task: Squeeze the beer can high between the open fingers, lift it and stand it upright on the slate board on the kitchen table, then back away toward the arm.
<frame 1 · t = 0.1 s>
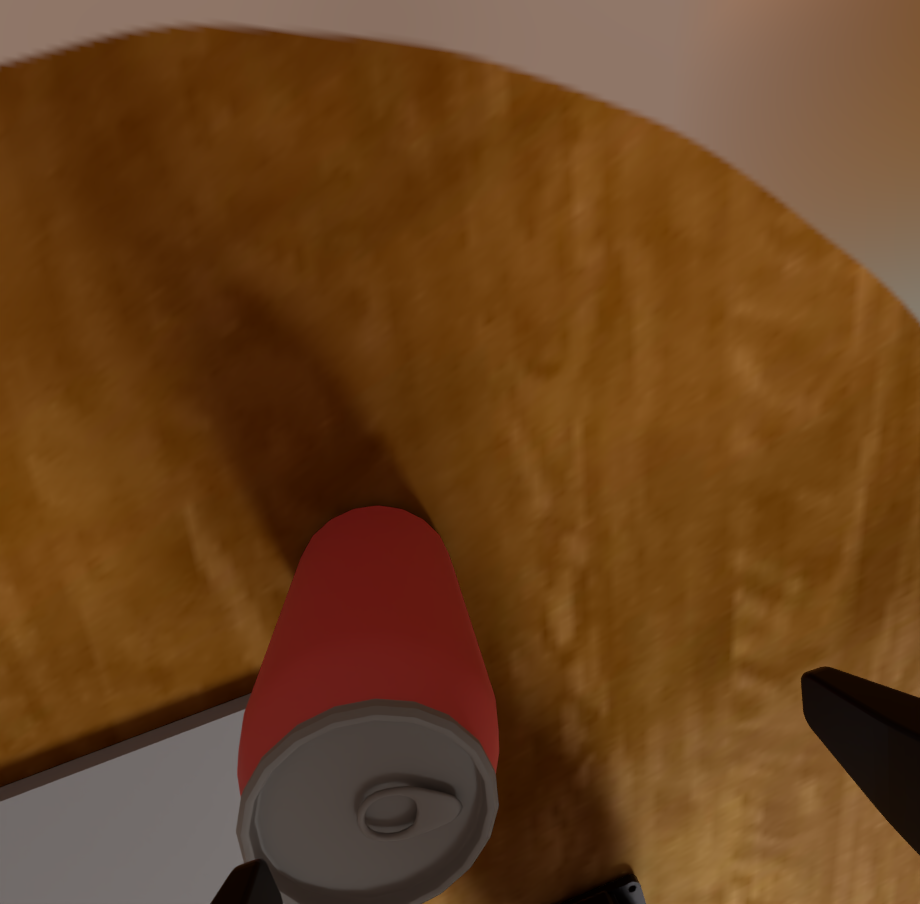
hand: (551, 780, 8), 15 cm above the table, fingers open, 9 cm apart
slate board: (185, 884, 24), on the table
beer can: (376, 569, 22), on the table
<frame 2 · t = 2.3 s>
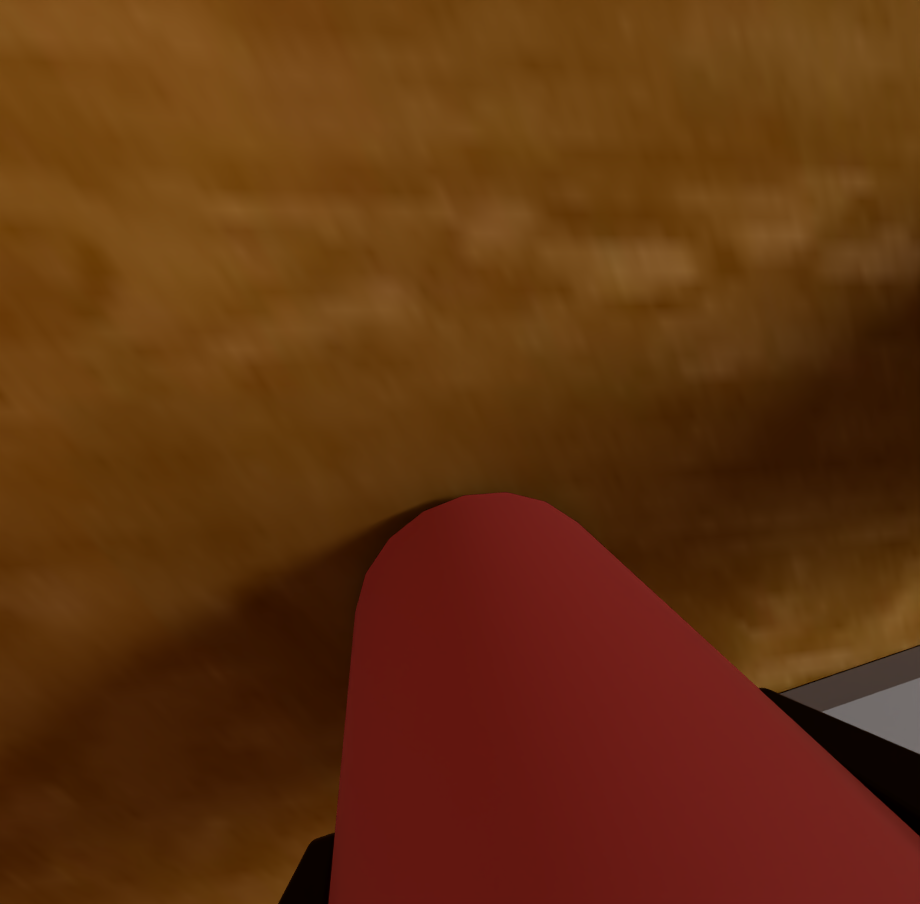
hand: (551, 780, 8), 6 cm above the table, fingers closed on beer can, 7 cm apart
slate board: (889, 845, 18), on the table
beer can: (481, 599, 13), on the table, touching gripper
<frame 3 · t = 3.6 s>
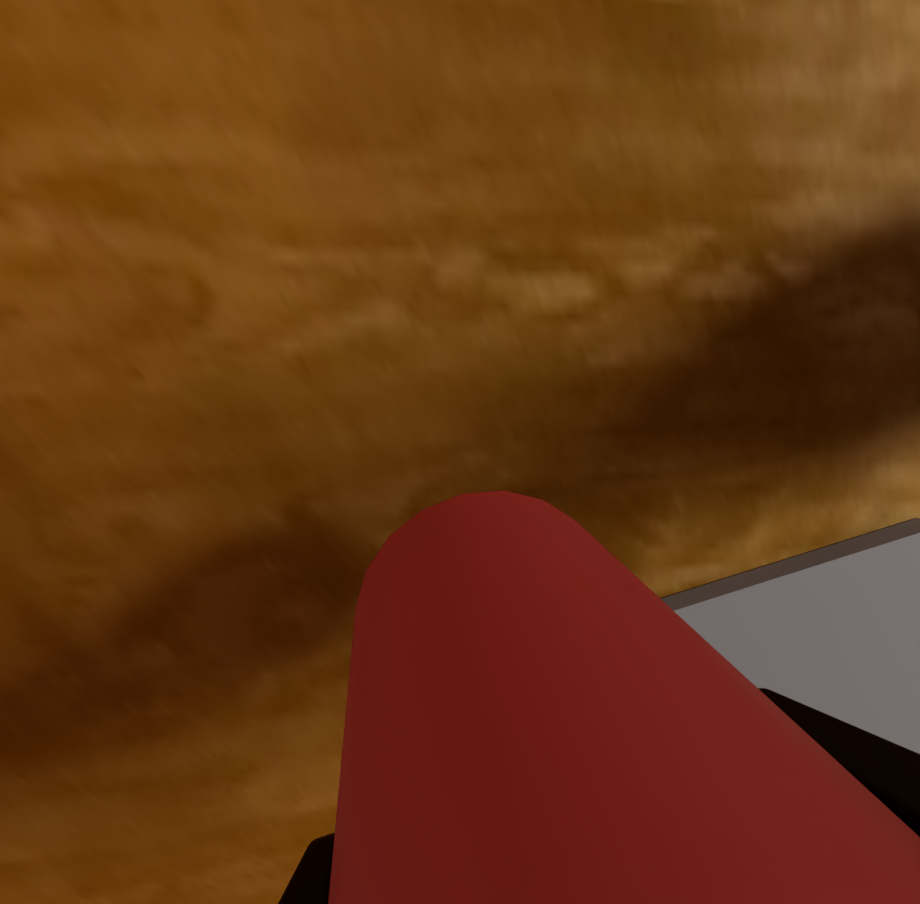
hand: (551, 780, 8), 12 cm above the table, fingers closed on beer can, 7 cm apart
slate board: (762, 719, 24), on the table
beer can: (479, 597, 14), point 6 cm above the table, touching gripper
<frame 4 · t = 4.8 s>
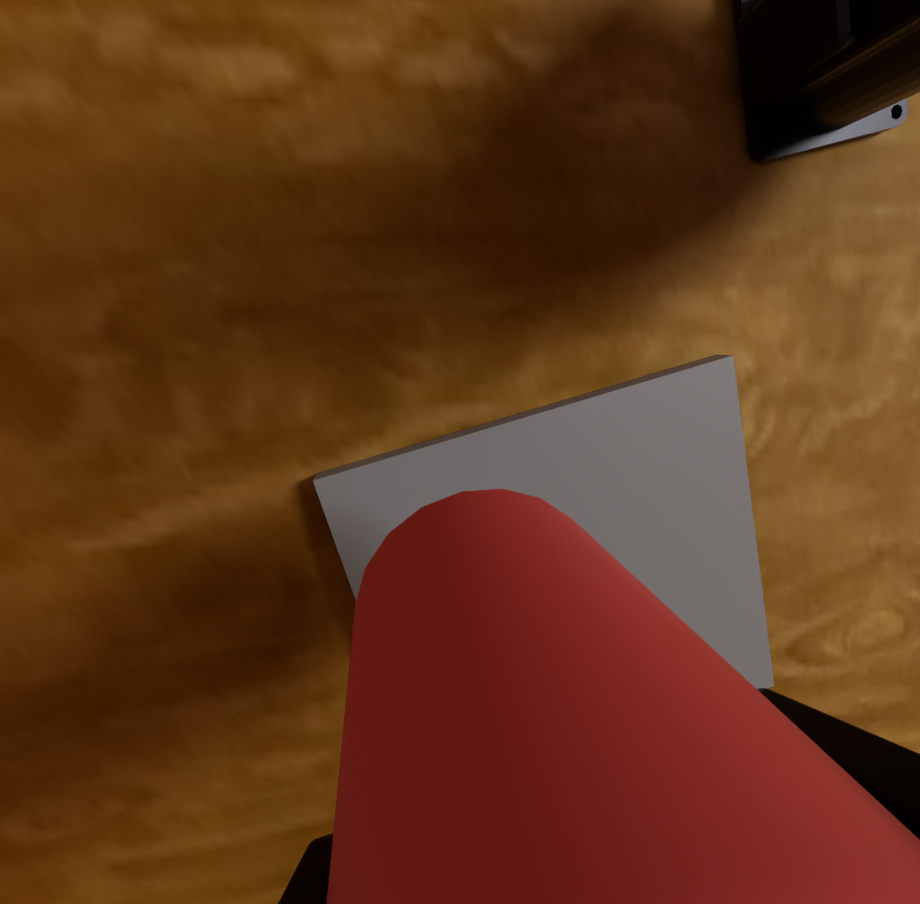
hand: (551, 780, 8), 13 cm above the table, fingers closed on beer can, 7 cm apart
slate board: (565, 585, 22), on the table
beer can: (477, 593, 14), point 7 cm above the table, touching gripper
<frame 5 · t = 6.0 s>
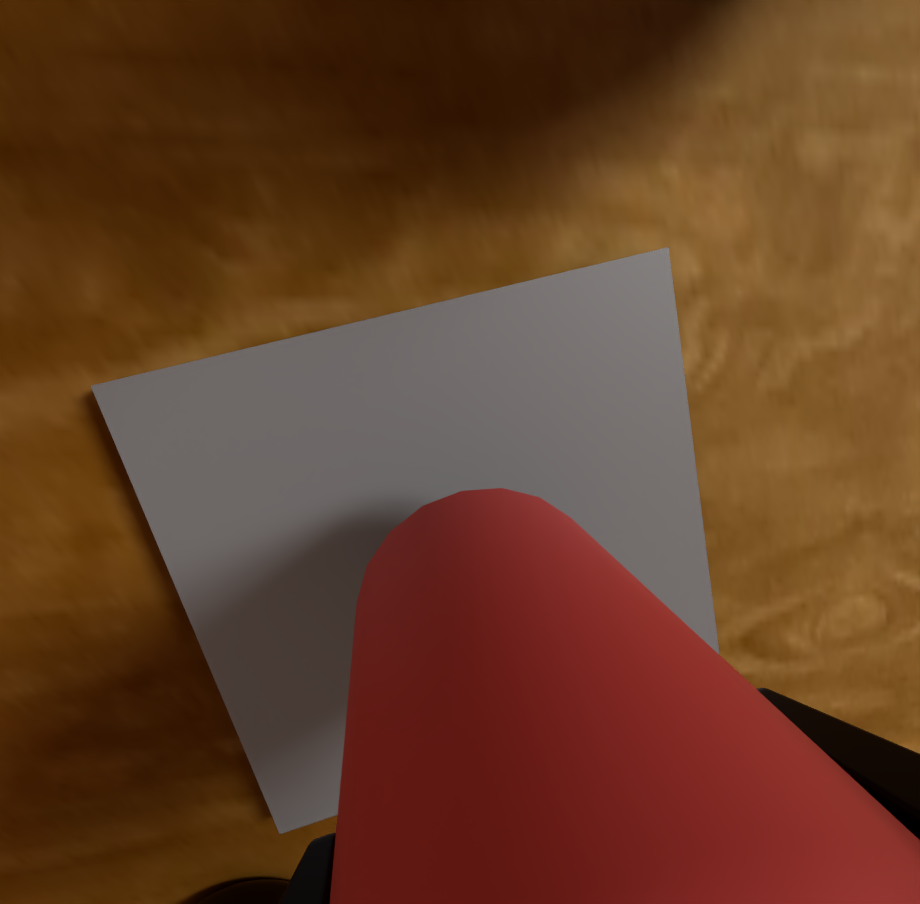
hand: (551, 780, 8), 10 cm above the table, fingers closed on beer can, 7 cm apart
slate board: (456, 548, 17), on the table
beer can: (477, 592, 14), point 3 cm above the table, touching gripper
when the fingers open (7 cm above the table, at t = 7.3 s): beer can stays where it is, resting on slate board.
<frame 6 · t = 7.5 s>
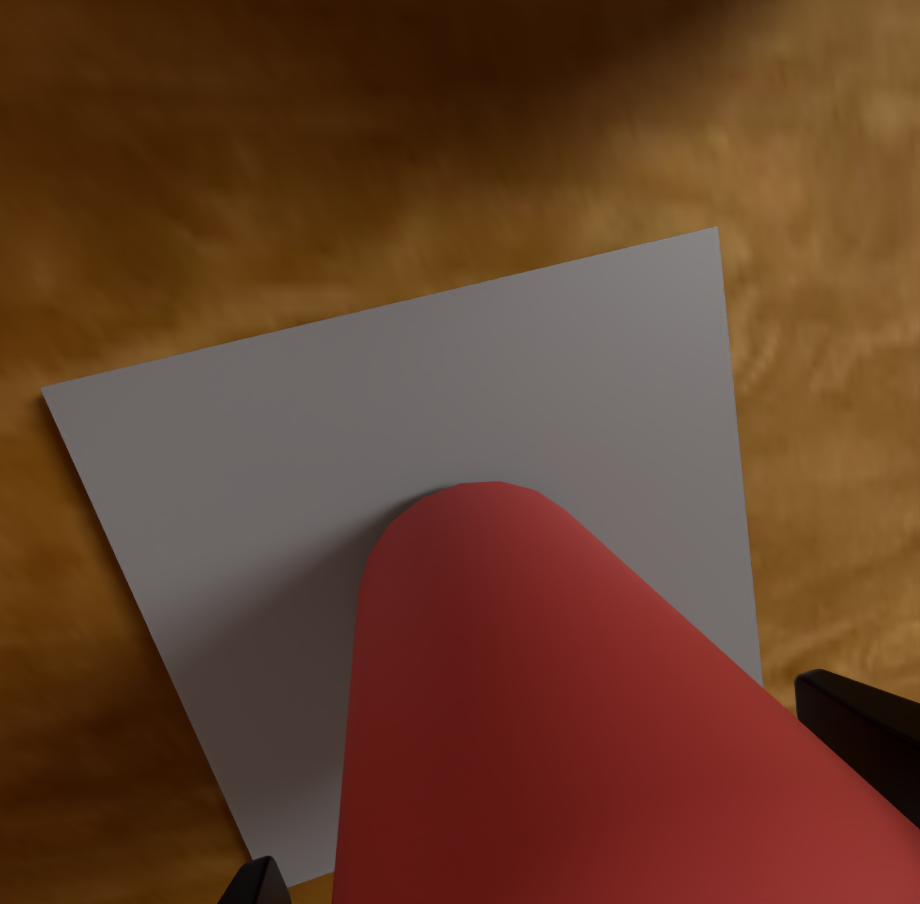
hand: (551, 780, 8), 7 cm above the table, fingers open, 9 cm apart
slate board: (468, 571, 15), on the table
beer can: (475, 582, 14), point 1 cm above the table, touching slate board
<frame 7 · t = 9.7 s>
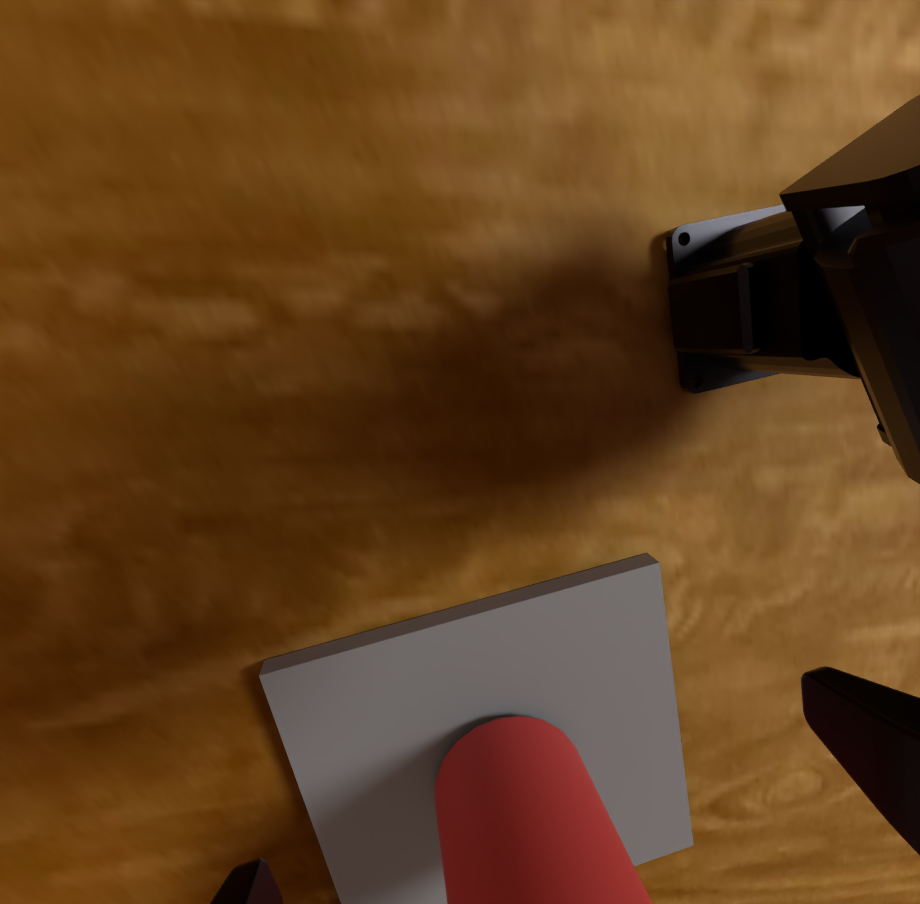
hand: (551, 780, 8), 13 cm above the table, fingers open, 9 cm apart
slate board: (498, 753, 23), on the table
beer can: (504, 767, 23), point 1 cm above the table, touching slate board
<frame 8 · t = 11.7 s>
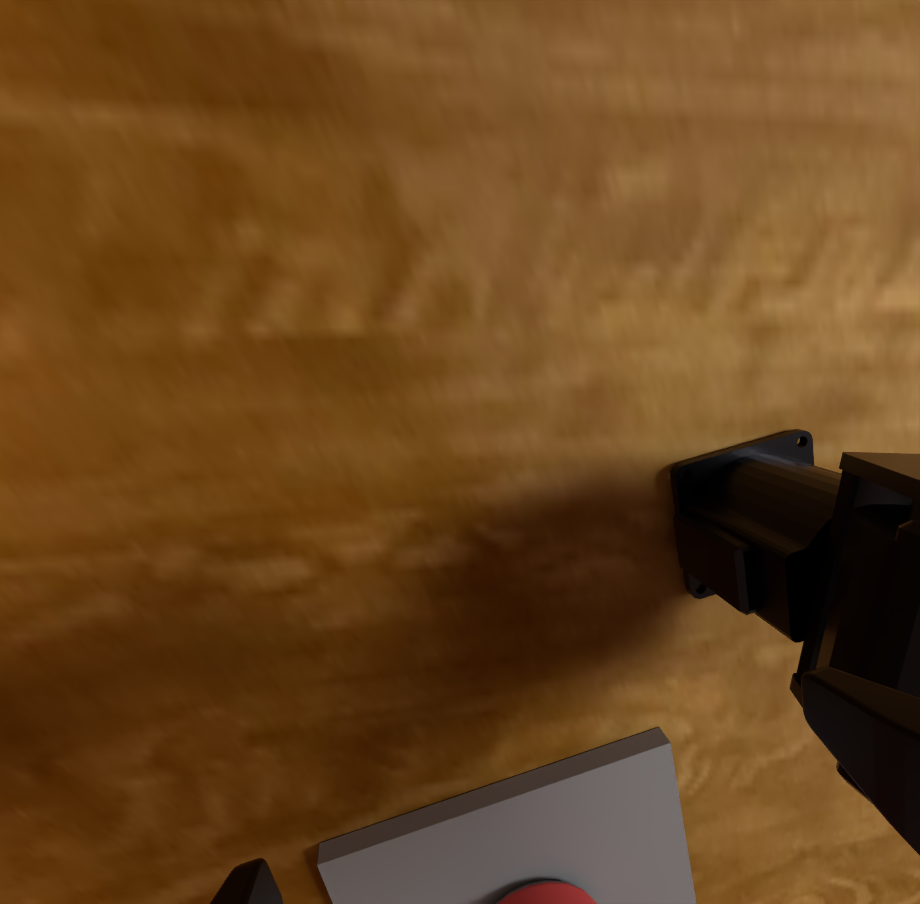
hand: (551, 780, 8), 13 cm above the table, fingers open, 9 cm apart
slate board: (528, 903, 26), on the table
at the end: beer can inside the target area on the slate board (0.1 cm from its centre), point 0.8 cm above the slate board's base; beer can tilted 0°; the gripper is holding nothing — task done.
